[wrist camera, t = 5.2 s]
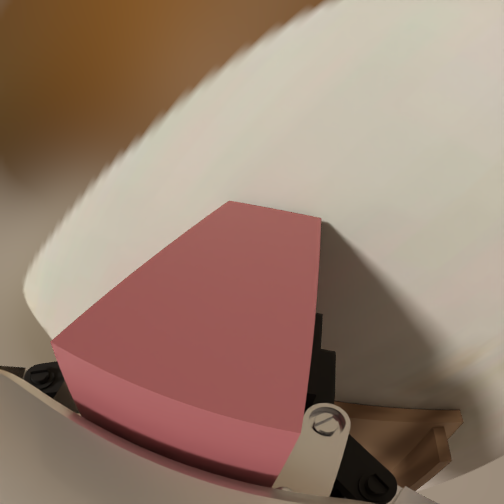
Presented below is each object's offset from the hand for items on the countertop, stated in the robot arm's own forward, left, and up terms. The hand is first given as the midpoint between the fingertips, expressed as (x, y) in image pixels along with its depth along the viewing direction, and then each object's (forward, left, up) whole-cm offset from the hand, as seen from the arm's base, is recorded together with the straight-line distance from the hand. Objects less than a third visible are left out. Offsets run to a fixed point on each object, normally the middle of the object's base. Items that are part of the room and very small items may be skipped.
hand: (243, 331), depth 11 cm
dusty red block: (0, 0, -3) cm, 3 cm away
